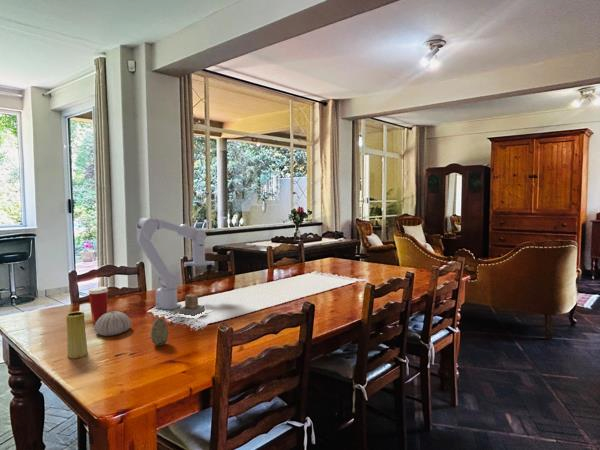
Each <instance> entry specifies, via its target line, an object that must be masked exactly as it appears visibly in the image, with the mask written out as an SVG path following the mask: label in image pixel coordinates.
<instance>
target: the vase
mask: <svg viewBox="0 0 600 450" xmlns="http://www.w3.org/2000/svg"><path fill="white" fill-rule="evenodd" d="M65 316H66V317H65V318H66V328H67V329H66V333H67V358H68V357H69V359H78V358H79V357H80V358H84V357H86V356H87V355H88V354H89V352H88V344H87V343H88V341H87V334H86V333H87V332H86V323H85V322H86V321H85V312H84V311H72V312H69V313H67V314H66V315H65Z"/></svg>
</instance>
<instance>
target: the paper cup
mask: <svg viewBox="0 0 600 450" xmlns="http://www.w3.org/2000/svg"><path fill="white" fill-rule="evenodd" d="M108 292H109V289H108V287H107V286H95V287H91V288H89V290H88V292H87V294H89V295H88V297H89V306H90V313H91V319H92V323H94V324H95V323H96V321H97V320H98V319H99V318H100V317H101V316H102V315H103V314H106V313H108Z"/></svg>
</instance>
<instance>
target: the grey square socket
mask: <svg viewBox="0 0 600 450" xmlns="http://www.w3.org/2000/svg"><path fill="white" fill-rule="evenodd" d="M207 309H208V308H206V307H205V305H202V304H201V305H200V304H198V308H196V309H185V305H184V306H183V307H180V308H179V309H178V312H179V314H184V315H191V316H195V315H197V314H200V313H201V314H202V312H204V311H205V310H207ZM171 316H172V314H170V315H169V317H171Z"/></svg>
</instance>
